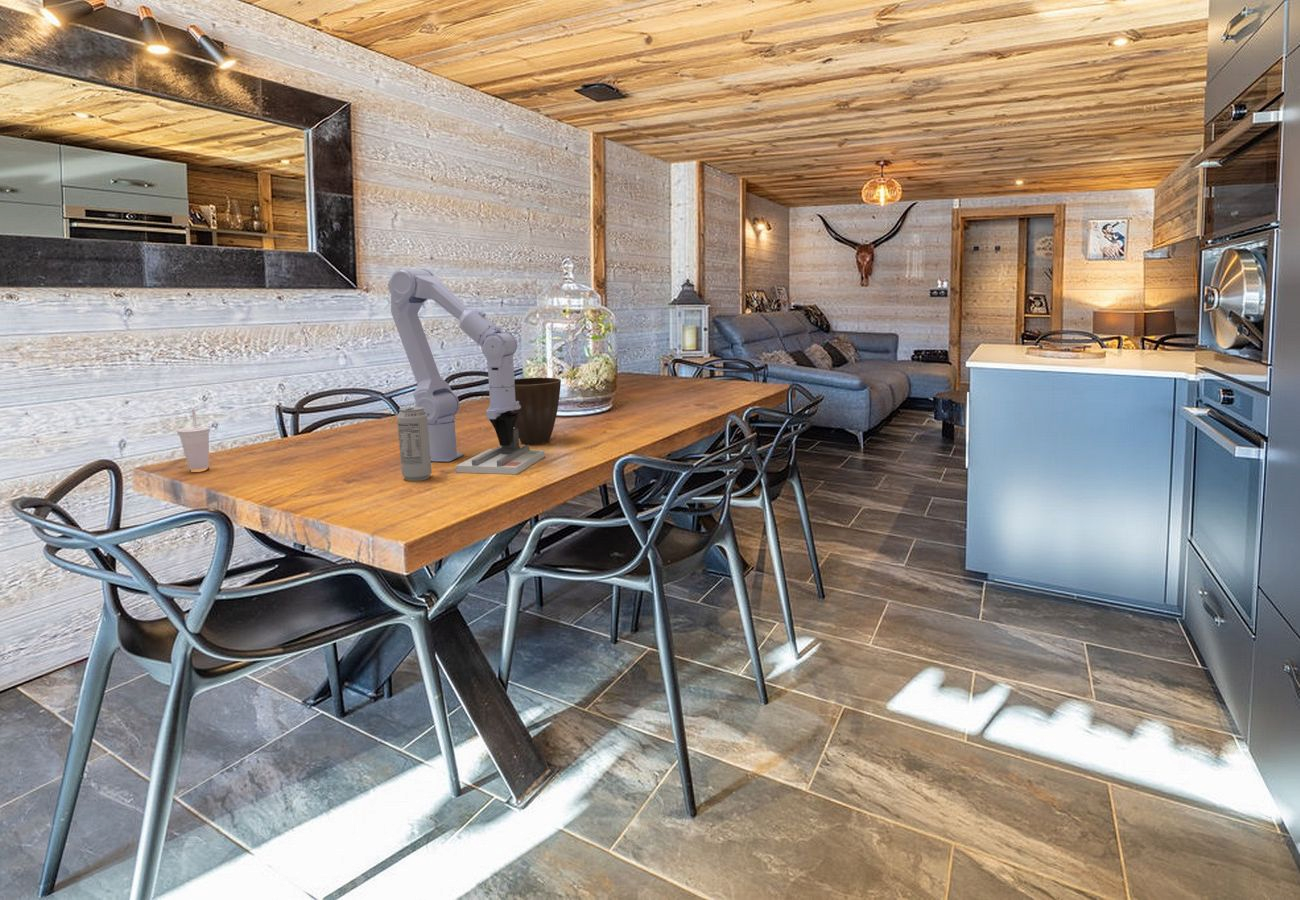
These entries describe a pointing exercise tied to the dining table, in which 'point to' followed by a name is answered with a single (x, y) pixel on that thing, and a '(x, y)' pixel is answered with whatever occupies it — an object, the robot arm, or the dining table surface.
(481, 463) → the slider rail board
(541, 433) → the plant pot
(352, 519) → the dining table surface
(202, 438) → the smoothie
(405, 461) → the energy drink can
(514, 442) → the lever
